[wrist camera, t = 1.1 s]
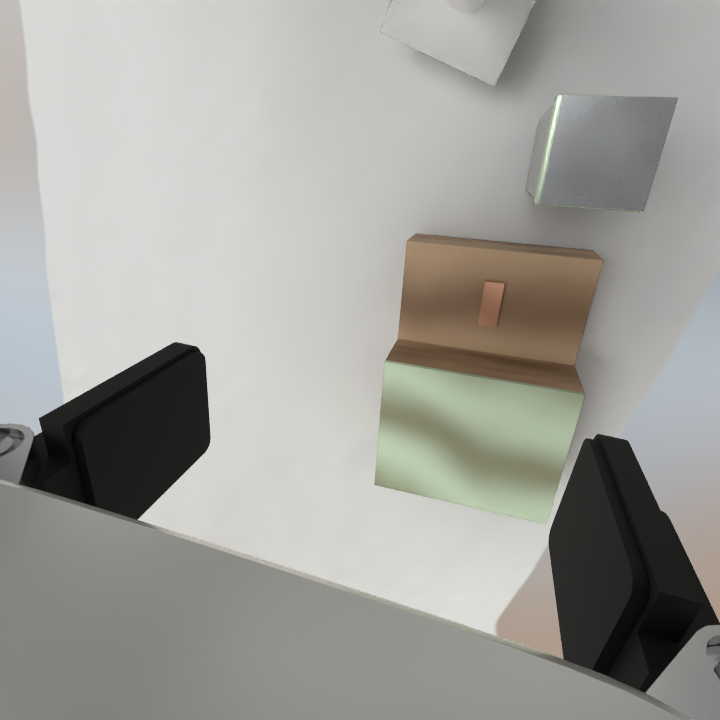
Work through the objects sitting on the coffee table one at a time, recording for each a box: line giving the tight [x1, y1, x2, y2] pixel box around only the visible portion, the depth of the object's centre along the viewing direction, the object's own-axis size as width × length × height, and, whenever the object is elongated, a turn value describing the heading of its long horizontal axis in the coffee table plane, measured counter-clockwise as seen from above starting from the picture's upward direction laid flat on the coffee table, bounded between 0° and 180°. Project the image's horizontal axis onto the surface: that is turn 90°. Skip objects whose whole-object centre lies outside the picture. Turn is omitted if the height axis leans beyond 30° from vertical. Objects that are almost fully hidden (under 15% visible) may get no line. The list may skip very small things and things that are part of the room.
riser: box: [375, 234, 604, 524], centre depth 31 cm, size 17×12×8 cm
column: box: [526, 95, 678, 212], centre depth 23 cm, size 4×4×12 cm
